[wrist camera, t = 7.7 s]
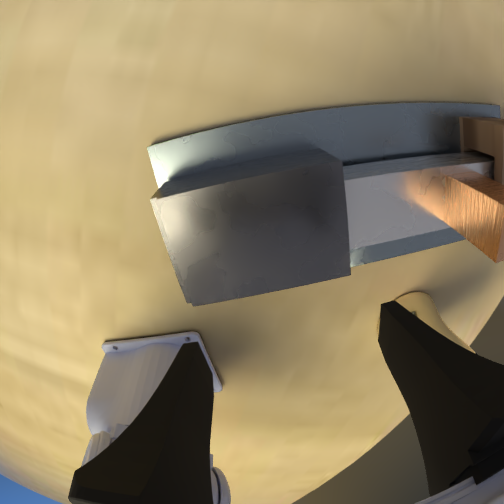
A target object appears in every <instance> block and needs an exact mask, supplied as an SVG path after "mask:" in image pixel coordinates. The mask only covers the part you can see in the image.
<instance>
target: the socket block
mask: <svg viewBox="0 0 504 504" xmlns="http://www.w3.org/2000/svg"><path fill="white" fill-rule="evenodd" d="M459 124H460V144H461V153H463V152H476V151H480V152H483V153H486V154H488V155H491V156H494V157H495V166H494V181H497V182H499V183H501V184H503V185H504V119H500V118H493V117H459Z"/></svg>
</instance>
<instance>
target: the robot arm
mask: <svg viewBox="0 0 504 504" xmlns="http://www.w3.org/2000/svg"><path fill="white" fill-rule="evenodd" d="M186 337H189V339H188V338H186ZM378 342H379V345H380V348H381V350H382V353H383V356H384V359H385V361H386V363H387V365H388V367H389V369H390V371H391V373H392V375H393V377H394V379H395V381H396V383H397V385H398V387H399V389H400V391H401V393H402V395H403V397H404V399H405V402H406V404H407V406H408V408H409V411H410V414H411V417H412V420H413V423H414V426H415V429H416V432H417V436H418V439H419V443H420V446H421V451H422V455H423V459H424V463H425V469H426V474H427V480H428V487H429V494H430V497H429V498H427V499H425V500H423V501H420V502H417V503H415V504H504V365H502V364H499V363H496V362H493V361H491V360H488V359H486V358H484V357H481V356H479V355H477V354H475V353H473V352H471V351H469V350H467V349H465V348H463V347H462V346H460V345H458V344H456V343H455V342H453V341H451V340H450V339H448V338H447V337H445V336H443V335H442V334H440V333H439V332H437V331H436V330H434V329H433V328H432V327H430V326H429V325H427V324H426V323H425V322H423V321H422V320H420V319H419V318H418V317H416V316H415V315H414V314H412V313H411V312H410V311H408V310H407V309H406V308H404V307H403V306H402V305H401V304H399V303H398V302H396V301H395V300H394V301H391V302H387V303H383V304H381V312H380V325H379V336H378ZM102 349H103V351H104V352H105V356H104V358H103V361H102V363H101V366H100V368H99V371H98V373H97V376H96V379H95V381H94V384H93V387H92V389H91V392H90V395H89V398H88V401H87V407H86V416H87V423H88V427H89V430H90V432H91V434H92V437H91V439H90V442H89V444H88V447H87V450H86V453H85V456H84V459H83V462H82V466H81V467H80V468H79V469H77V470H76V471H75V472H74V476H73V480H72V484H71V488H70V492H69V496H68V499H69V501H70V502H71V503H72V504H230V502H231V495H230V488H229V485H228V482H227V480H226V477H225V475H224V474H223V472H222V471H221V470H220V469H218V468H217V467H213V455H212V454H210V437H211V425H212V413H213V401H214V392H220V391H221V390H222V384H221V382H220V380H219V378H218V376H217V374H216V371H215V369H214V367H213V365H212V362H211V360H210V358H209V356H208V353H207V351H206V349H205V346H204V344H203V342H202V339H201V337H200V335H199V333H197V332H195V331H191V332H185V333H178V334H171V335H163V336H156V337H148V338H140V339H131V340H122V341H113V342H104V343H103V344H102Z"/></svg>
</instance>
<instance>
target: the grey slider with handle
mask: <svg viewBox="0 0 504 504" xmlns="http://www.w3.org/2000/svg"><path fill="white" fill-rule="evenodd" d="M494 166H495V157H494V156H491V155H488V154H486V153H483V152H480V151H476V152H463V153H450V154H439V155H429V156H419V157H410V158H402V159H394V160H386V161H378V162H371V163H364V164H357V165H350V166H343V174H344V183H345V193H346V204H347V216H348V230H349V246H350V250H351V249H356V248H360V247H365V246H370V245H374V244H379V243H383V242H388V241H393V240H397V239H402V238H406V237H411V236H415V235H419V234H424V233H428V232H433V231H437V230H441V229H446V228H450V227H452V228H453V229H454V230H455V231H457V232H458V233H459V234H461V235H462V236H463V237H465V238H466V239H467V240H468V241H470V242H471V243H472V244H473V245H475V246H476V247H477V248H478V249H480V250H481V251H482V252H483V253H485V254H486V255H487V256H488V257H489V258H490V259H492V260H493V261H494V262H495V263H497V262H500V261H503V260H504V185H503V184H501V183H499V182H497V181H494Z"/></svg>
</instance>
